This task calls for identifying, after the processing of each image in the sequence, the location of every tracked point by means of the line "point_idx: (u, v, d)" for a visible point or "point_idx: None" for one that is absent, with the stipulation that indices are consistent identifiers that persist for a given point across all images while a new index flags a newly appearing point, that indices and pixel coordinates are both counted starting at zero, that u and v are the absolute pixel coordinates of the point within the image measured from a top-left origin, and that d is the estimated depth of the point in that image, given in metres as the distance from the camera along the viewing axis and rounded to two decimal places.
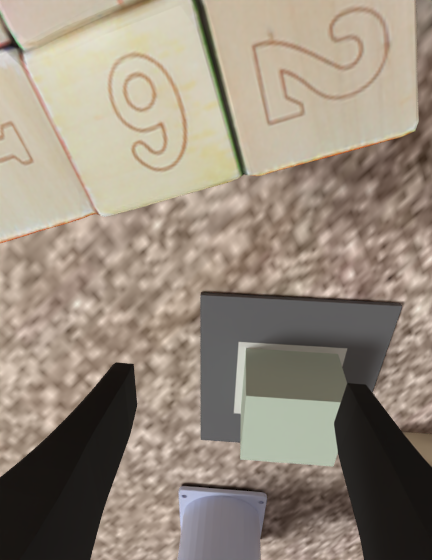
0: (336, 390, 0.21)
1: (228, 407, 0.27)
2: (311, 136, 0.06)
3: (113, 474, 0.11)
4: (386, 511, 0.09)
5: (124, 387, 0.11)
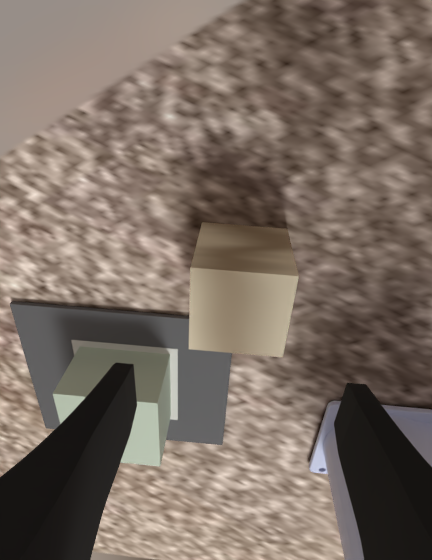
0: None
1: (170, 422, 0.28)
2: None
3: (113, 474, 0.11)
4: (386, 511, 0.09)
5: (124, 387, 0.11)
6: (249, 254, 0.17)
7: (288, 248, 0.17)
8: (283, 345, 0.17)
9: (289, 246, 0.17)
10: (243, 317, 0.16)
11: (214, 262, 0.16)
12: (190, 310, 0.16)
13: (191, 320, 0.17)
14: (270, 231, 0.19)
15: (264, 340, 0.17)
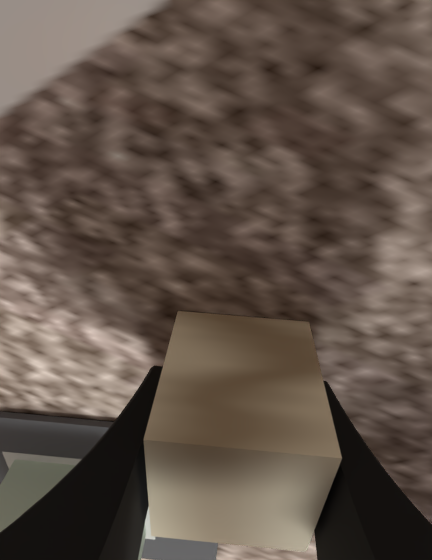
0: None
1: (145, 541, 0.21)
2: None
3: None
4: (333, 506, 0.09)
5: None
6: (250, 393, 0.10)
7: (315, 374, 0.10)
8: (308, 539, 0.10)
9: (317, 368, 0.11)
10: (239, 505, 0.10)
11: (189, 423, 0.09)
12: (149, 492, 0.10)
13: (152, 504, 0.10)
14: (283, 330, 0.12)
15: (276, 532, 0.10)
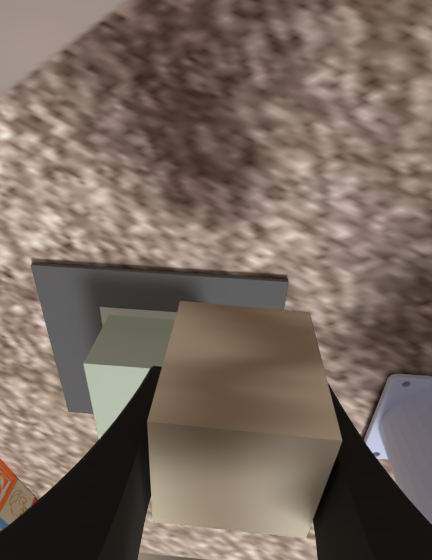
0: None
1: None
2: None
3: None
4: (334, 506, 0.09)
5: None
6: (252, 379, 0.10)
7: (316, 361, 0.11)
8: (308, 524, 0.10)
9: (318, 356, 0.11)
10: (241, 489, 0.10)
11: (192, 406, 0.09)
12: (152, 476, 0.10)
13: (154, 489, 0.10)
14: (284, 320, 0.12)
15: (276, 517, 0.10)
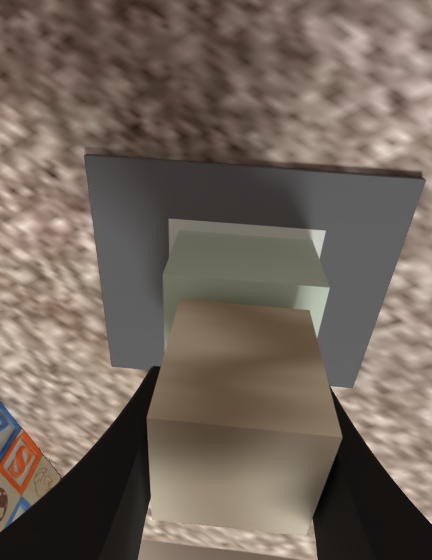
0: None
1: None
2: None
3: None
4: (334, 506, 0.09)
5: None
6: (252, 376, 0.10)
7: (316, 358, 0.11)
8: (307, 522, 0.10)
9: (318, 354, 0.11)
10: (240, 486, 0.10)
11: (191, 402, 0.09)
12: (151, 473, 0.10)
13: (154, 486, 0.10)
14: (284, 318, 0.12)
15: (276, 515, 0.10)
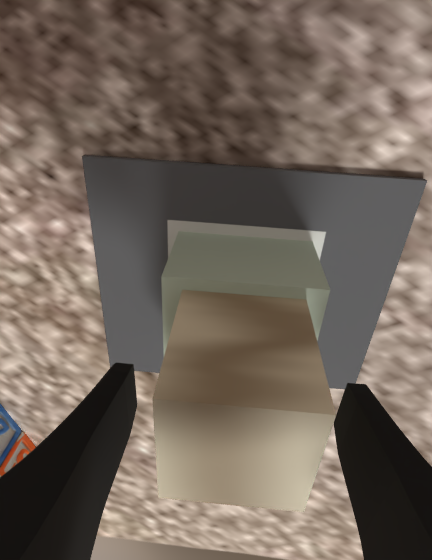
0: None
1: None
2: None
3: (113, 474, 0.11)
4: (386, 511, 0.09)
5: (124, 387, 0.11)
6: (251, 360, 0.10)
7: (312, 344, 0.11)
8: (305, 498, 0.11)
9: (314, 340, 0.11)
10: (241, 464, 0.10)
11: (195, 384, 0.10)
12: (157, 452, 0.10)
13: (159, 465, 0.10)
14: (282, 307, 0.13)
15: (275, 492, 0.11)
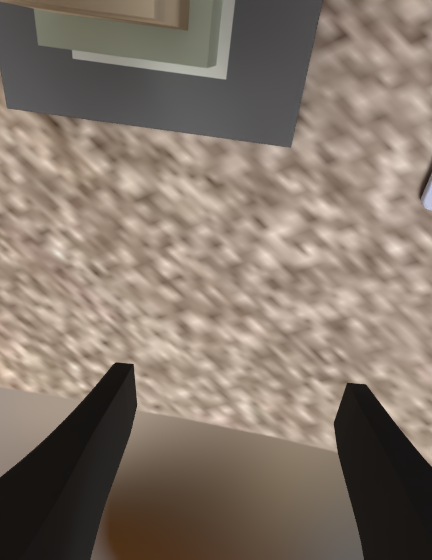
0: None
1: (212, 88, 0.17)
2: None
3: (113, 474, 0.11)
4: (386, 511, 0.09)
5: (124, 387, 0.11)
6: None
7: None
8: None
9: None
10: None
11: None
12: None
13: None
14: None
15: None
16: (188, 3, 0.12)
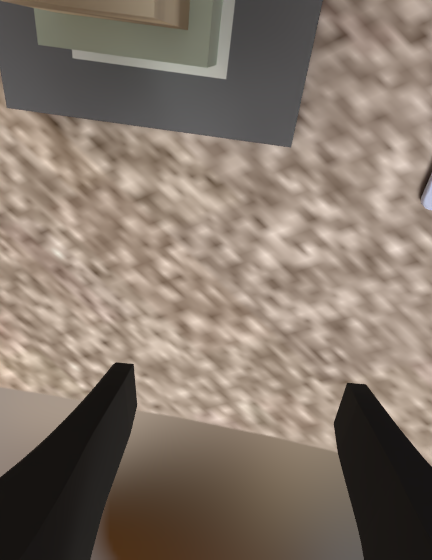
0: None
1: (212, 88, 0.17)
2: None
3: (113, 474, 0.11)
4: (386, 511, 0.09)
5: (124, 387, 0.11)
6: None
7: None
8: None
9: None
10: None
11: None
12: None
13: None
14: None
15: None
16: (188, 2, 0.12)
